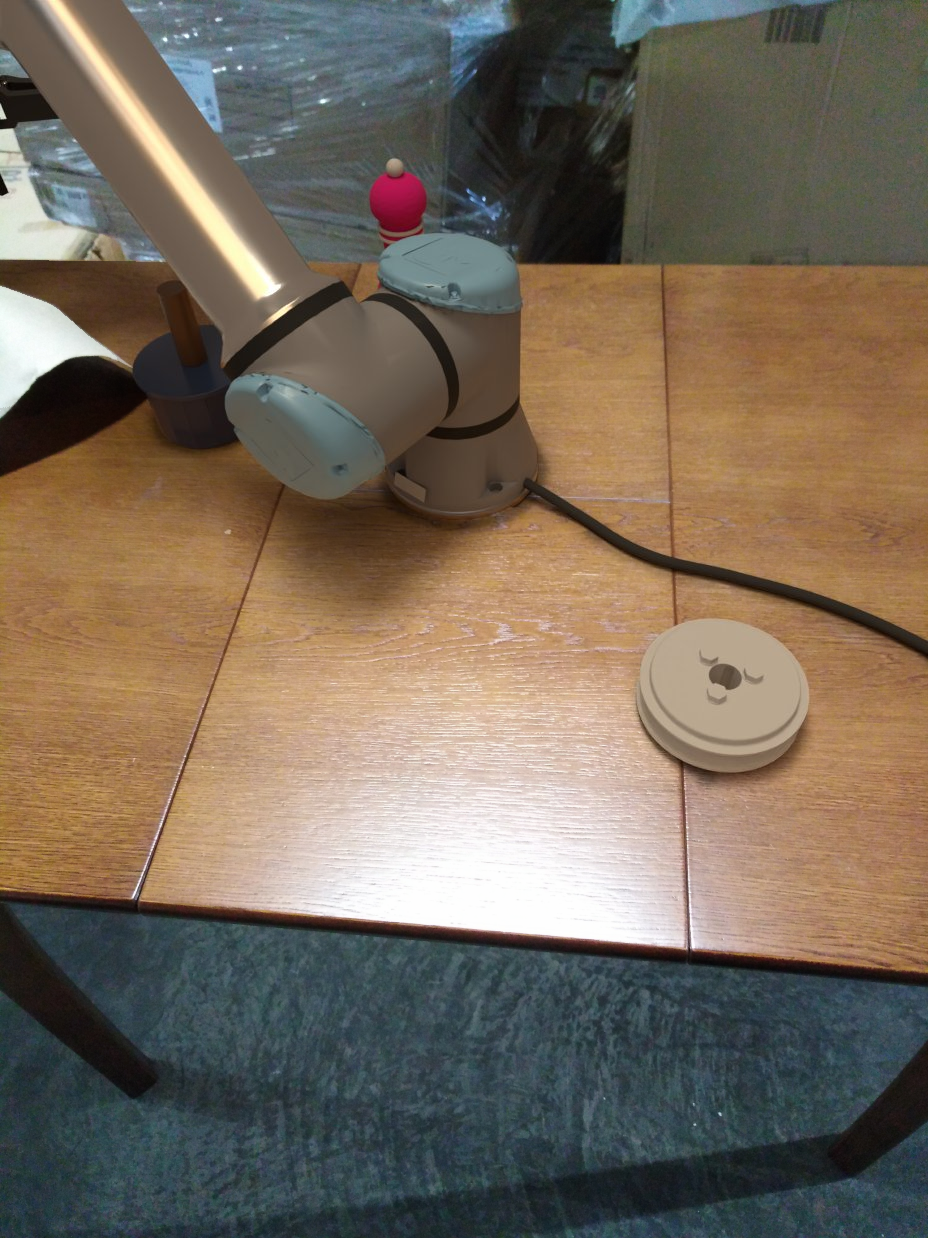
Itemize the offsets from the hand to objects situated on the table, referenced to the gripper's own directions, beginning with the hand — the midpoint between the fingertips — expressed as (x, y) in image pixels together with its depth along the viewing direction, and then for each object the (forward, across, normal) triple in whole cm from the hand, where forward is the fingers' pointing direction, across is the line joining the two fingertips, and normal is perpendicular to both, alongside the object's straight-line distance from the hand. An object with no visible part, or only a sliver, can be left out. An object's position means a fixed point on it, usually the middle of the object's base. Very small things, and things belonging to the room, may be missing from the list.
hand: (61, 148), depth 81 cm
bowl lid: (+10, 0, -20) cm, 22 cm away
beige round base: (+71, +5, -26) cm, 76 cm away
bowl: (+10, 0, -26) cm, 28 cm away
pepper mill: (+19, -24, -26) cm, 40 cm away
